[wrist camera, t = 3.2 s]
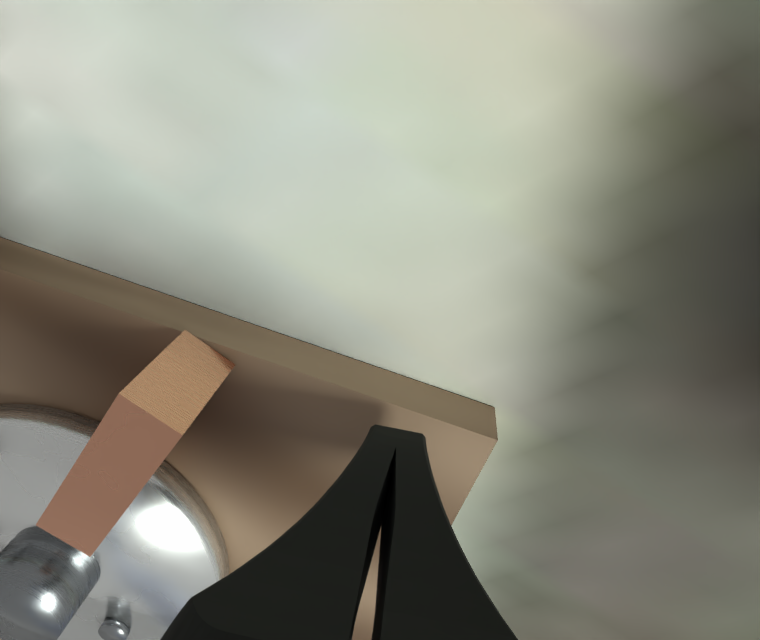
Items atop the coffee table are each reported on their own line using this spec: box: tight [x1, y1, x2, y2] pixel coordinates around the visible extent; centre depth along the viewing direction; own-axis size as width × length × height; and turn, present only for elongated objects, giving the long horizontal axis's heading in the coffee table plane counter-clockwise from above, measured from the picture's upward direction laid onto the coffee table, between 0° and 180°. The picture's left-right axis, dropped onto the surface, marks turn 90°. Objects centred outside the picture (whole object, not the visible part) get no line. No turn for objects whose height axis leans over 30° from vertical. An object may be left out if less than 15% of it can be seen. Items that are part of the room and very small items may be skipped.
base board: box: [0, 237, 498, 640], centre depth 17 cm, size 19×23×5 cm
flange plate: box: [0, 330, 235, 640], centre depth 16 cm, size 16×11×3 cm
